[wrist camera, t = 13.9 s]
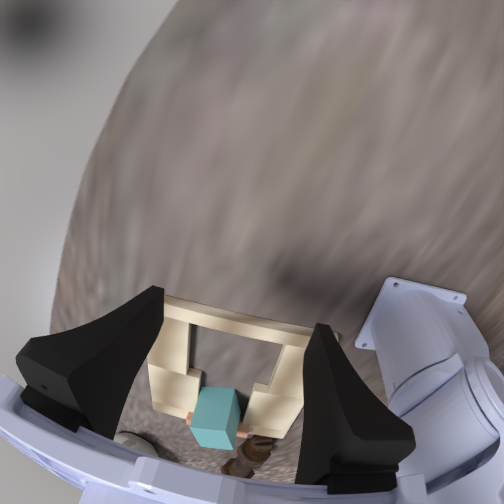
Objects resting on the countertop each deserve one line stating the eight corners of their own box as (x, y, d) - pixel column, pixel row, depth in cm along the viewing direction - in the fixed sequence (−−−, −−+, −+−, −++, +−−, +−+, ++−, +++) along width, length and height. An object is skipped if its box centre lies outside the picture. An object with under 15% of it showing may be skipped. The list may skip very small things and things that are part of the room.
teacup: (157, 457, 48) (147, 488, 40) (109, 435, 46) (96, 465, 39) (172, 439, 41) (160, 477, 34) (114, 412, 40) (96, 448, 33)
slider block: (234, 388, 32) (225, 431, 26) (240, 410, 34) (233, 450, 29) (201, 386, 32) (189, 427, 27) (210, 408, 35) (200, 446, 29)
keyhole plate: (337, 332, 26) (340, 351, 24) (283, 431, 35) (281, 446, 33) (148, 290, 26) (137, 306, 24) (156, 402, 36) (150, 416, 34)
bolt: (270, 420, 37) (243, 457, 44) (238, 427, 35) (217, 462, 42) (287, 452, 33) (255, 482, 40) (255, 462, 31) (229, 489, 37)
